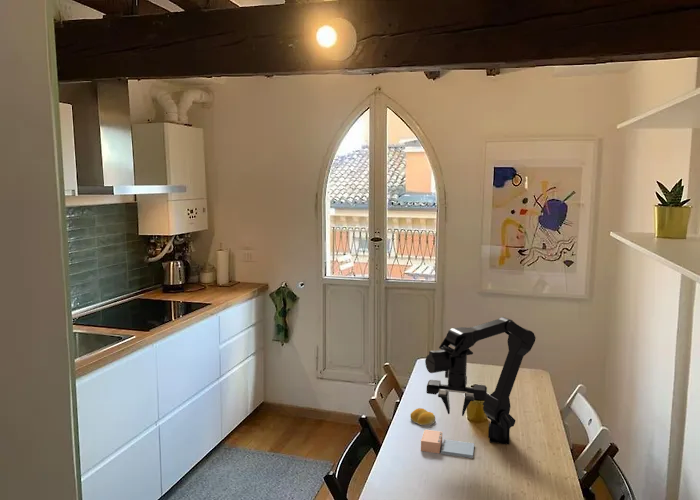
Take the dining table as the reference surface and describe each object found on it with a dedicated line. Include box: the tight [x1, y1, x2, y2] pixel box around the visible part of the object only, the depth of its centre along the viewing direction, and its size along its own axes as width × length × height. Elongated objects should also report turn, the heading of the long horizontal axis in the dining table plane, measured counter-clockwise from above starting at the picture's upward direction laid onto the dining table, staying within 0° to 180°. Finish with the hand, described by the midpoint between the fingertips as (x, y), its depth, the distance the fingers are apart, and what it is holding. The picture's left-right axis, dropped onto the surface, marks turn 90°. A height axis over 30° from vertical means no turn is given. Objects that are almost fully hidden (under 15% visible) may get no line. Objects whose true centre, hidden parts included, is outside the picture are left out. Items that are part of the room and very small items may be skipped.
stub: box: [420, 429, 443, 454], centre depth 179 cm, size 6×8×4 cm
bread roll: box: [409, 407, 436, 426], centre depth 197 cm, size 8×9×4 cm
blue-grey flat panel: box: [440, 438, 475, 459], centre depth 177 cm, size 10×8×1 cm
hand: (455, 414), depth 175 cm, fingers open, 4 cm apart
